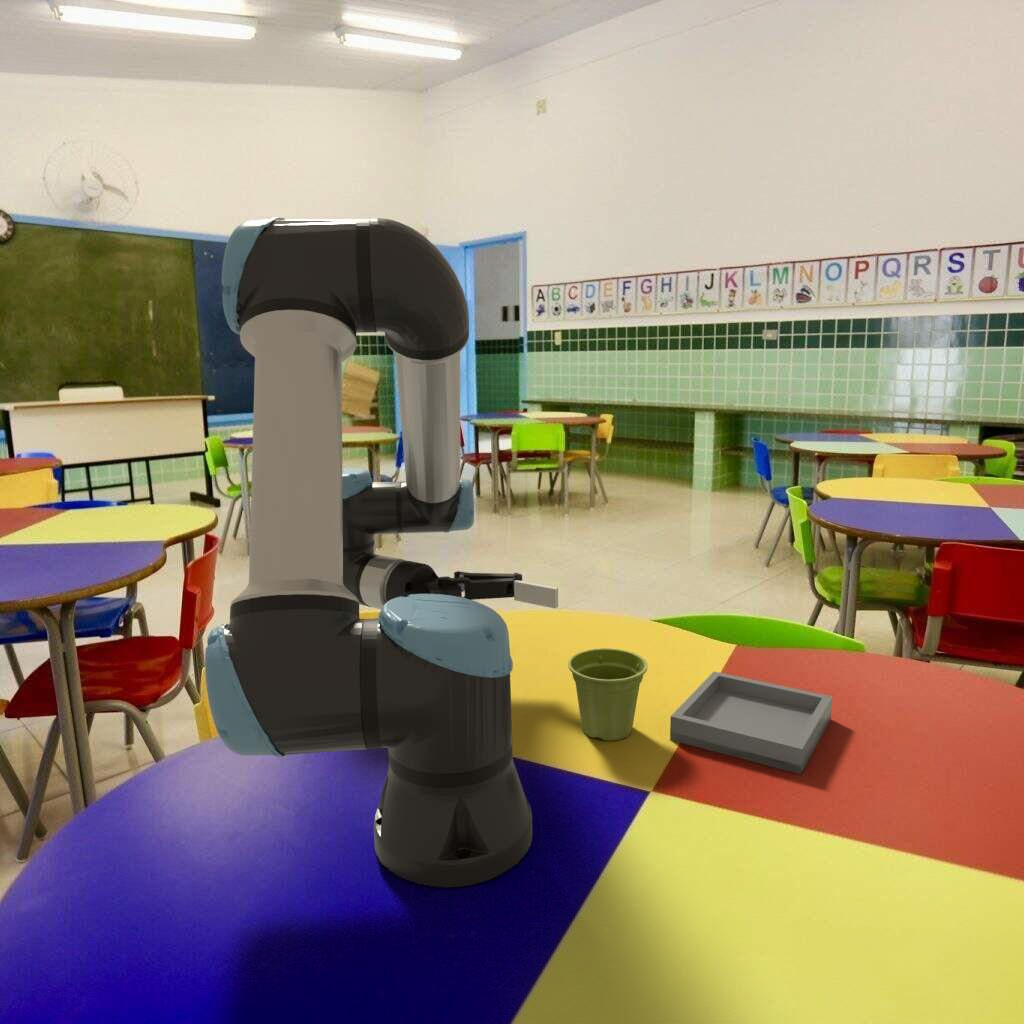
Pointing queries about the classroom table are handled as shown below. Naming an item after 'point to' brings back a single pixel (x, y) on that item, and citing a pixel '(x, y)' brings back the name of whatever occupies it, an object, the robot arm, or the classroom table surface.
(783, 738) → the tray
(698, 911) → the classroom table surface
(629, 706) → the plant pot
